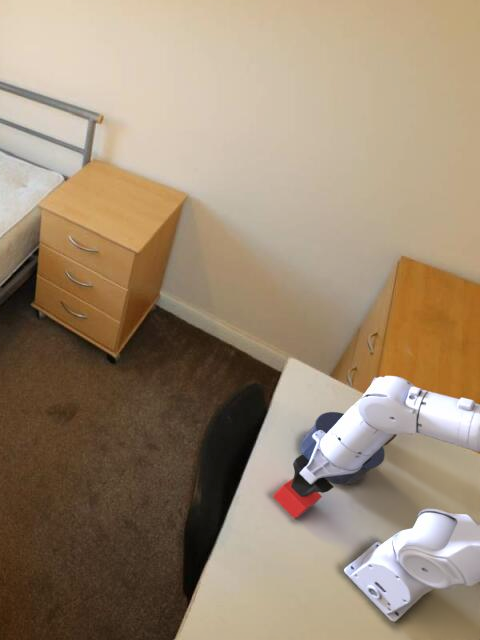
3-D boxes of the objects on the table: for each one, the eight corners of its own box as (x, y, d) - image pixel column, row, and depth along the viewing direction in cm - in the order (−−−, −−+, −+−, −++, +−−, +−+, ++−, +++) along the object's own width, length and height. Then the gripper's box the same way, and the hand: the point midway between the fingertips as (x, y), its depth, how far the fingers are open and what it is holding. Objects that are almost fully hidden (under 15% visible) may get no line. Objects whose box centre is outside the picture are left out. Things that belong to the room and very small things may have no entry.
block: (294, 519, 89) (306, 507, 86) (272, 496, 92) (283, 484, 89) (310, 507, 90) (323, 495, 87) (288, 485, 93) (300, 472, 90)
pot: (339, 494, 92) (358, 477, 88) (289, 447, 99) (304, 428, 95) (372, 469, 96) (392, 451, 92) (322, 425, 103) (338, 407, 99)
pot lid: (357, 481, 88) (371, 469, 85) (299, 429, 95) (310, 416, 92) (394, 454, 92) (408, 441, 89) (336, 406, 99) (348, 393, 97)
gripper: (358, 398, 82) (317, 442, 91) (300, 435, 77) (262, 478, 86) (403, 434, 78) (356, 477, 87) (345, 476, 72) (300, 517, 81)
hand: (312, 480), depth 86 cm, fingers open, 7 cm apart
